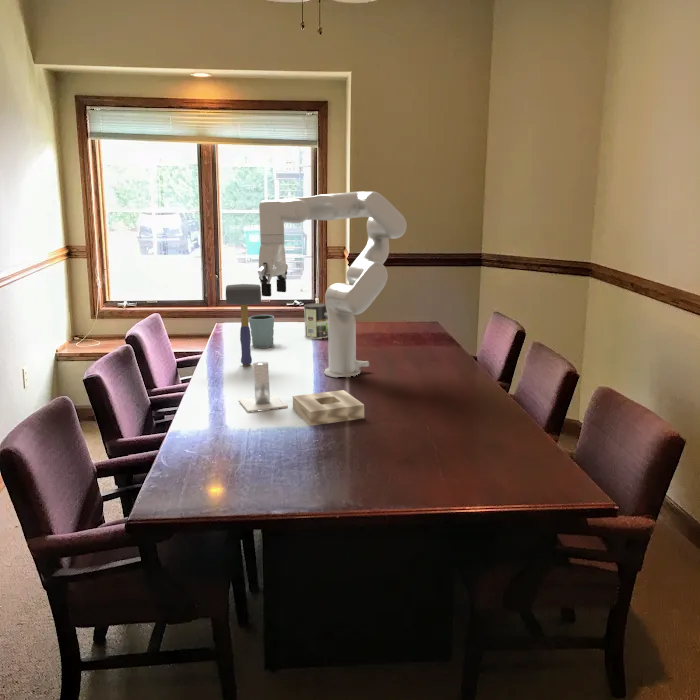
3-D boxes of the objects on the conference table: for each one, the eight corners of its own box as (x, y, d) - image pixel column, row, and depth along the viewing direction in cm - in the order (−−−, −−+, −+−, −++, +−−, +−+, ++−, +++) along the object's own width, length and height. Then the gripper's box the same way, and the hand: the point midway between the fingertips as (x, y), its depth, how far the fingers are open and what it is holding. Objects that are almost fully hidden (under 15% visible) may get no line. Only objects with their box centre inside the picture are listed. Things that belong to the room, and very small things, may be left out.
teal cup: (279, 344, 293) (278, 316, 290) (264, 349, 284) (263, 320, 282) (260, 341, 298) (259, 313, 295) (245, 346, 290) (243, 317, 287)
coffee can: (328, 334, 312) (328, 302, 309) (327, 339, 302) (327, 306, 299) (305, 334, 312) (304, 303, 309) (303, 339, 302) (303, 306, 299)
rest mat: (276, 396, 220) (276, 395, 220) (287, 407, 209) (287, 405, 209) (238, 401, 215) (238, 399, 215) (247, 412, 205) (247, 410, 204)
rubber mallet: (264, 362, 263) (261, 282, 256) (263, 367, 256) (259, 285, 249) (230, 363, 262) (226, 282, 256) (228, 368, 255) (224, 285, 248)
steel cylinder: (260, 399, 215) (258, 361, 212) (272, 401, 213) (270, 362, 210) (252, 403, 211) (250, 364, 208) (265, 405, 209) (263, 365, 207)
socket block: (343, 402, 213) (343, 390, 212) (364, 418, 199) (364, 404, 198) (292, 409, 207) (292, 396, 207) (310, 425, 193) (310, 411, 192)
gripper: (275, 237, 231) (277, 289, 235) (247, 241, 216) (250, 297, 220) (295, 238, 229) (297, 290, 232) (269, 242, 213) (271, 298, 217)
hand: (274, 293), depth 226 cm, fingers open, 9 cm apart
